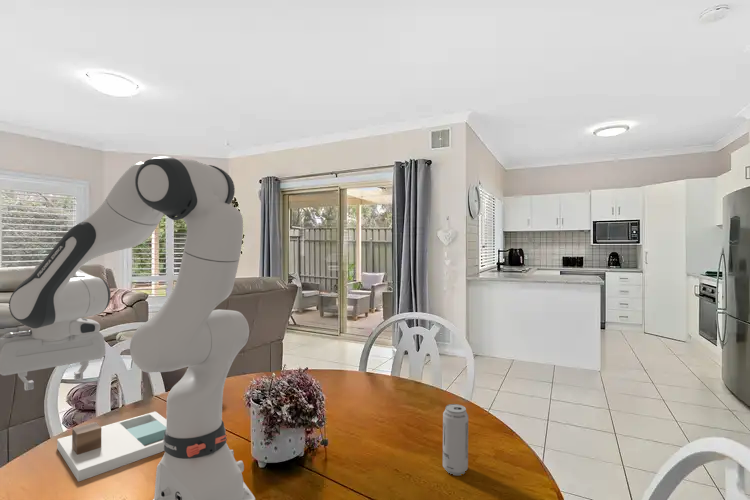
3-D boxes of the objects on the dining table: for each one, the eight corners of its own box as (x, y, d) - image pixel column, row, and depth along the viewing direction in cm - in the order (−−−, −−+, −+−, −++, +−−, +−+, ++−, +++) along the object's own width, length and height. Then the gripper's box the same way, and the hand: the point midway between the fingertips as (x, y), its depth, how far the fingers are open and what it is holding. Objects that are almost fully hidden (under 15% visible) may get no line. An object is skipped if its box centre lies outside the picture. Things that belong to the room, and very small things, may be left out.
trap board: (186, 443, 108) (186, 433, 108) (78, 481, 90) (78, 470, 90) (155, 419, 122) (155, 411, 122) (57, 448, 104) (57, 439, 104)
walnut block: (101, 447, 100) (101, 427, 100) (77, 454, 96) (77, 434, 96) (95, 440, 103) (95, 421, 103) (72, 447, 100) (72, 428, 100)
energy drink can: (441, 462, 99) (442, 402, 99) (466, 463, 98) (466, 403, 98) (443, 475, 93) (443, 412, 93) (469, 477, 92) (469, 413, 92)
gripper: (-4, 337, 85) (-4, 400, 86) (107, 323, 101) (107, 377, 101) (-7, 331, 90) (-7, 391, 90) (100, 319, 105) (100, 371, 105)
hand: (54, 384), depth 96 cm, fingers open, 8 cm apart
